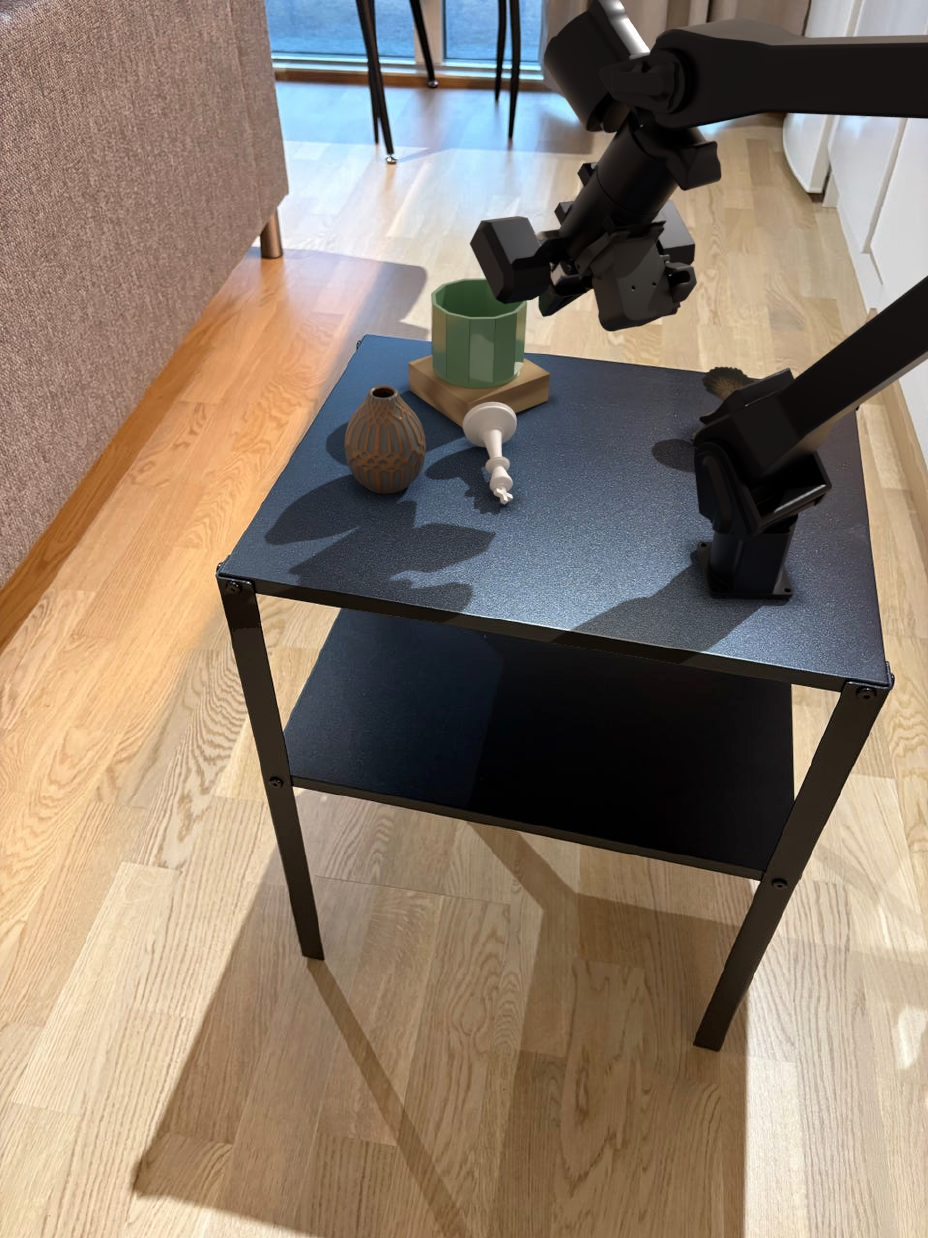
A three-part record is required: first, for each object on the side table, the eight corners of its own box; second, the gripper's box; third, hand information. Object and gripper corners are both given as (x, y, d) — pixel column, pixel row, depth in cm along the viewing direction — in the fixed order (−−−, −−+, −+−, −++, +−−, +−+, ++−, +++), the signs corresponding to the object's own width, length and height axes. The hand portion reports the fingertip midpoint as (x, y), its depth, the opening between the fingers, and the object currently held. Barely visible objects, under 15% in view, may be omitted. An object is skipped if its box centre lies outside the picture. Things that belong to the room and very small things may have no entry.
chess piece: (483, 393, 88) (498, 473, 82) (527, 414, 91) (545, 493, 85) (451, 430, 91) (464, 510, 85) (494, 450, 94) (509, 528, 88)
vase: (430, 462, 91) (429, 374, 85) (420, 506, 85) (419, 415, 80) (355, 457, 91) (349, 369, 85) (340, 500, 86) (333, 410, 80)
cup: (526, 387, 95) (531, 317, 90) (434, 389, 94) (433, 319, 90) (516, 344, 101) (520, 277, 97) (430, 346, 101) (429, 278, 96)
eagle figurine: (781, 403, 97) (692, 384, 96) (816, 368, 90) (721, 346, 89) (775, 475, 95) (685, 456, 94) (811, 444, 88) (713, 423, 87)
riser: (548, 400, 99) (550, 373, 97) (467, 431, 95) (468, 403, 93) (487, 362, 105) (488, 335, 103) (408, 389, 100) (407, 362, 98)
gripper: (573, 292, 67) (489, 412, 81) (774, 259, 75) (667, 373, 89) (507, 157, 69) (436, 296, 83) (710, 139, 77) (614, 268, 91)
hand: (544, 311), depth 86 cm, fingers closed
